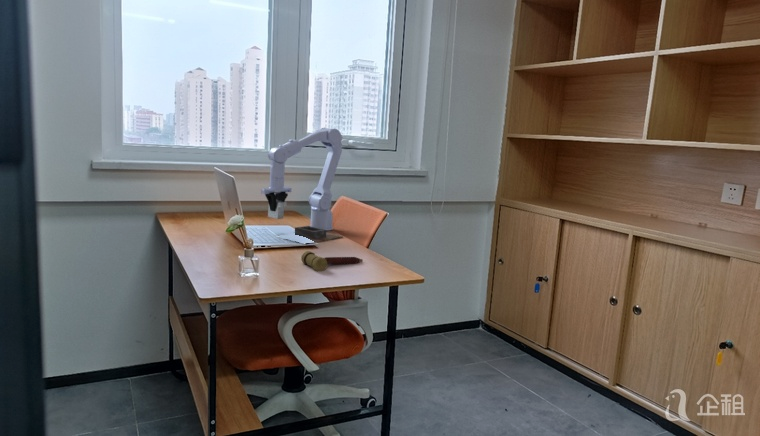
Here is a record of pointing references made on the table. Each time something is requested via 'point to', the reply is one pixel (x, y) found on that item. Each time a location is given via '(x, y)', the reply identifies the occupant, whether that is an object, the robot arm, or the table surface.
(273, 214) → the steel bracket
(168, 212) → the table surface
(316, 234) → the slot board
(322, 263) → the gavel
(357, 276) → the table surface
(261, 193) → the robot arm
